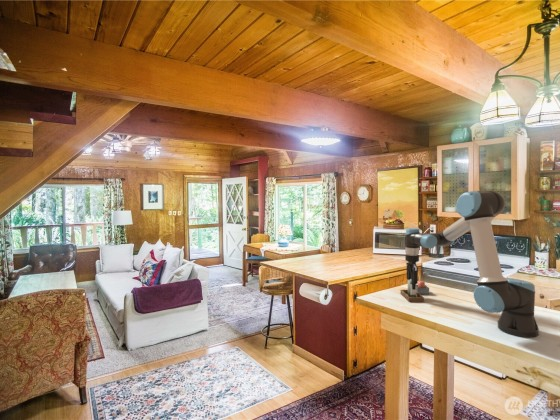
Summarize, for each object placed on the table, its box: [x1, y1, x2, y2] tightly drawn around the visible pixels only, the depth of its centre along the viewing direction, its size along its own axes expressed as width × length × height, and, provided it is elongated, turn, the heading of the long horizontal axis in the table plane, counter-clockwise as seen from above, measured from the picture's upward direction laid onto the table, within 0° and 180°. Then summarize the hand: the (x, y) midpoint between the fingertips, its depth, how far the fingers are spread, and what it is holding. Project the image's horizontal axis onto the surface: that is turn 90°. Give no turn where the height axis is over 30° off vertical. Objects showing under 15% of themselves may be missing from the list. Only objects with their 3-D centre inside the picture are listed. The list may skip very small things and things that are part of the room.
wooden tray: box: [400, 289, 425, 303], centre depth 197 cm, size 16×9×2 cm, turn 177°
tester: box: [416, 284, 430, 295], centre depth 206 cm, size 7×7×4 cm
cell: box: [407, 279, 416, 297], centre depth 196 cm, size 5×5×11 cm
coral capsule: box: [417, 280, 426, 288], centre depth 206 cm, size 4×4×6 cm
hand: (411, 293), depth 197 cm, fingers closed on cell, 5 cm apart
